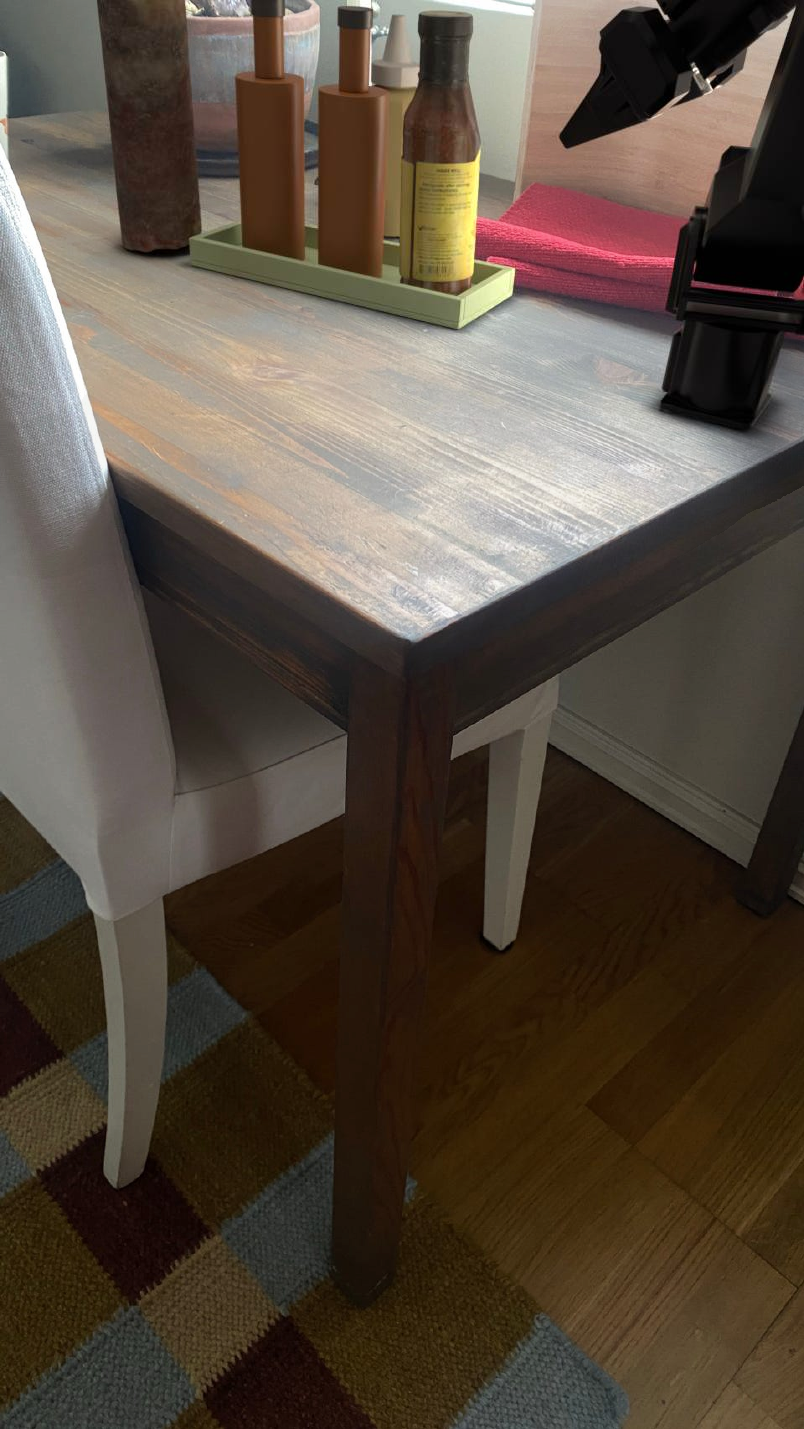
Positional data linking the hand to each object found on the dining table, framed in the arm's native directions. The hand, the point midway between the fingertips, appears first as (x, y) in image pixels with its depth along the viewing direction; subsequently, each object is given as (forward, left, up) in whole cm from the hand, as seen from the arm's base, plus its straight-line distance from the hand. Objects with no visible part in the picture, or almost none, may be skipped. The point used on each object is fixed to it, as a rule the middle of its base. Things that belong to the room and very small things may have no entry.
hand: (585, 133), depth 78 cm
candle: (+38, +5, -14) cm, 40 cm away
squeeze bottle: (+24, -13, -14) cm, 30 cm away
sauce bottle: (+10, +3, -13) cm, 17 cm away
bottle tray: (+19, +3, -14) cm, 23 cm away
